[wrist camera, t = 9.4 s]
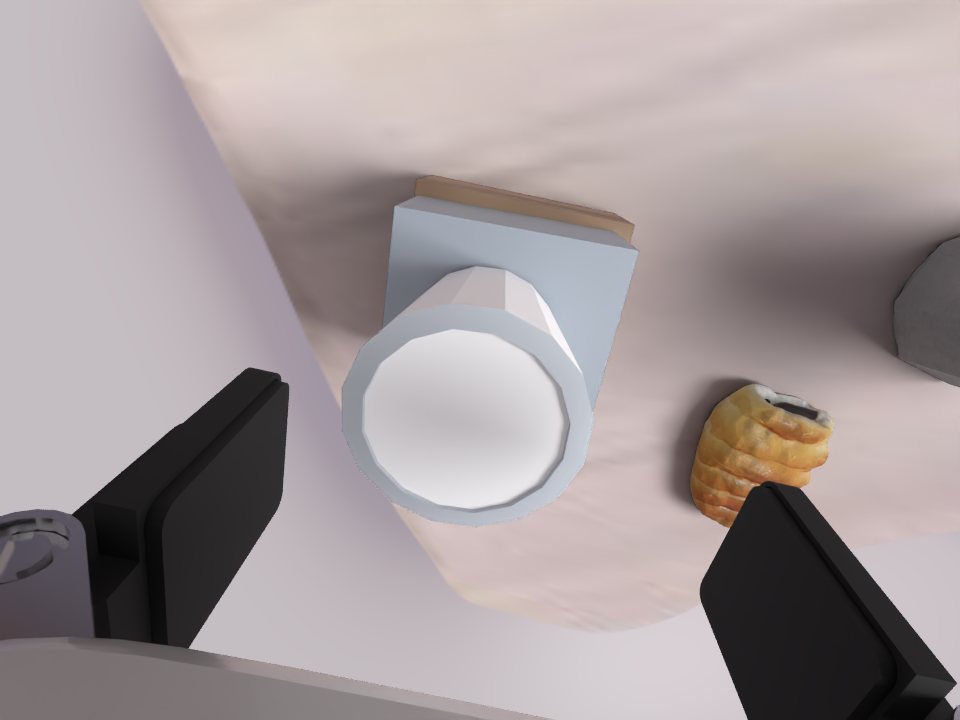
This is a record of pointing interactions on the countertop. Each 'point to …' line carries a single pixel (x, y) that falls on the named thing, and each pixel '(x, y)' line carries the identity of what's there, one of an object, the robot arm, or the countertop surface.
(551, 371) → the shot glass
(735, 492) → the pastry
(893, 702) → the robot arm
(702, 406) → the countertop surface
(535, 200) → the walnut base block
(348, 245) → the countertop surface
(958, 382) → the coffeepot
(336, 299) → the countertop surface
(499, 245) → the grey top block
